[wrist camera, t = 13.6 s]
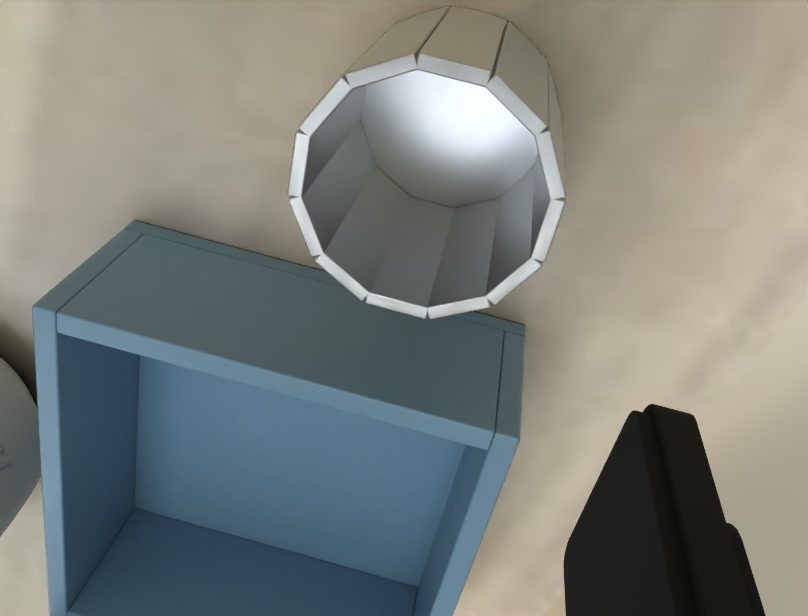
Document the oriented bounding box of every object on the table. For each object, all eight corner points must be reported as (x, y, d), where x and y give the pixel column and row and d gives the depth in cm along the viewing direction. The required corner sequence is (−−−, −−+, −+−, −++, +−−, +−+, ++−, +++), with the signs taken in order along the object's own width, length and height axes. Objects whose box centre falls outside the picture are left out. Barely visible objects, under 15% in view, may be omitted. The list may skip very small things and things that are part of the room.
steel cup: (374, -17, 24) (310, 24, 17) (586, 37, 23) (602, 98, 17) (339, 183, 27) (275, 279, 21) (523, 232, 27) (516, 344, 20)
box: (133, 219, 29) (31, 305, 23) (526, 324, 29) (520, 439, 23) (126, 502, 37) (48, 618, 31) (433, 588, 37) (411, 723, 31)
